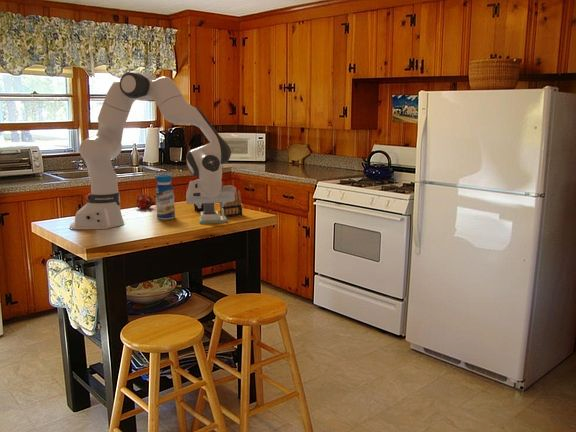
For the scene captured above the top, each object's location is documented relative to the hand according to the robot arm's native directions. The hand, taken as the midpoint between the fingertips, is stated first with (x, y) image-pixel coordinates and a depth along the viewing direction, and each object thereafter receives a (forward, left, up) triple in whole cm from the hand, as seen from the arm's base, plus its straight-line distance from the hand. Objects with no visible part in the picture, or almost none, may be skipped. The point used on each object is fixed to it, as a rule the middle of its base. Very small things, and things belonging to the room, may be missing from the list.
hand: (210, 206), depth 238 cm
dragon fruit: (-31, +49, -9) cm, 59 cm away
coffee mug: (-2, +37, -9) cm, 38 cm away
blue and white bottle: (-20, +22, -9) cm, 31 cm away
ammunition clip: (+10, +19, -9) cm, 23 cm away
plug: (0, +10, -7) cm, 12 cm away
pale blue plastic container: (+1, +10, -9) cm, 13 cm away
